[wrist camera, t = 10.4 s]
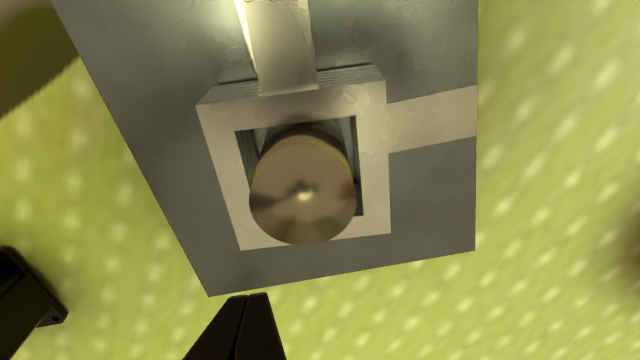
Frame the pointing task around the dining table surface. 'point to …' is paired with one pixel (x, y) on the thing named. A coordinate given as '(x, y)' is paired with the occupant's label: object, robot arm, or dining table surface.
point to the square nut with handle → (295, 117)
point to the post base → (213, 54)
